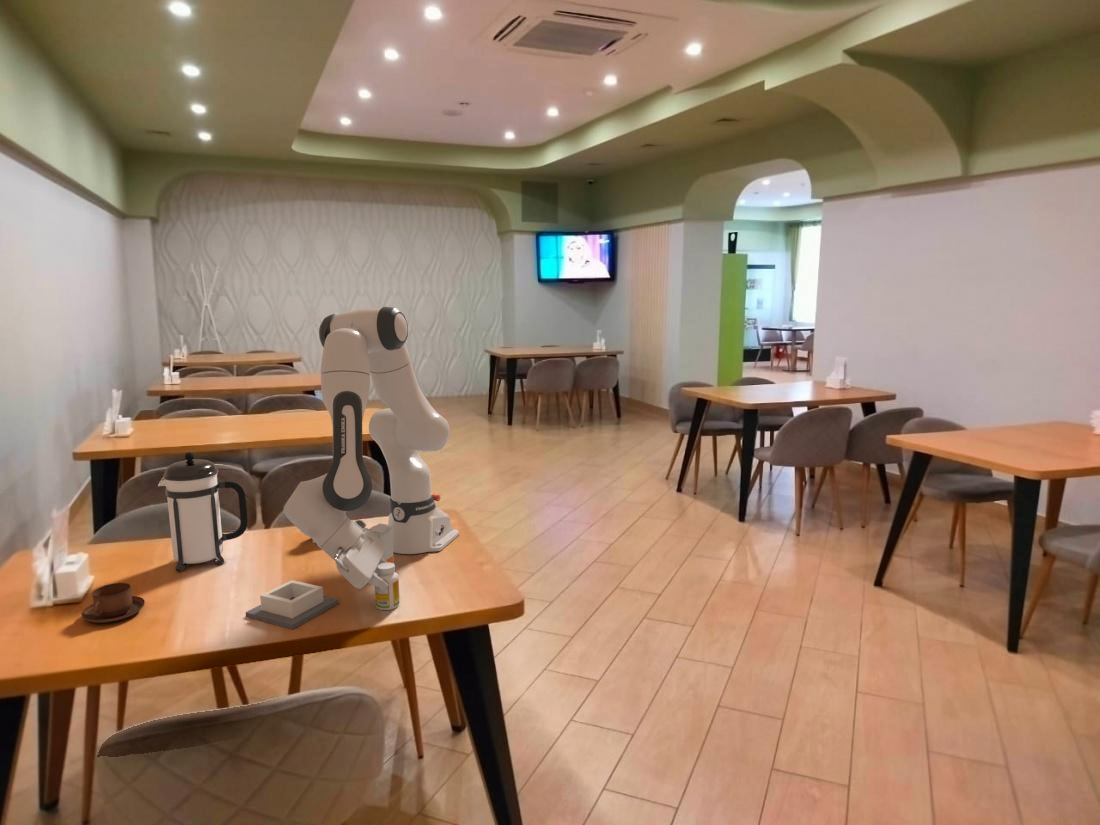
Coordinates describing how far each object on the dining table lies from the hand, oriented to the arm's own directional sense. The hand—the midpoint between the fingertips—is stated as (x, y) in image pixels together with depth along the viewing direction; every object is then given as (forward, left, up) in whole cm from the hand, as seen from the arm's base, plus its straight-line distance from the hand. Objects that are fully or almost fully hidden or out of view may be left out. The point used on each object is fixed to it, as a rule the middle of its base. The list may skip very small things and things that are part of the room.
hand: (389, 581), depth 162 cm
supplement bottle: (0, -1, -6) cm, 6 cm away
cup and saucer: (+30, -53, -6) cm, 61 cm away
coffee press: (-1, -63, -6) cm, 63 cm away
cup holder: (+11, -19, -6) cm, 23 cm away
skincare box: (-15, -15, -6) cm, 22 cm away
